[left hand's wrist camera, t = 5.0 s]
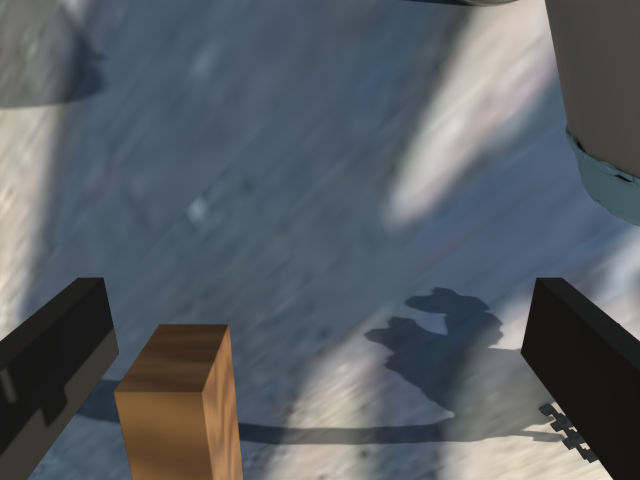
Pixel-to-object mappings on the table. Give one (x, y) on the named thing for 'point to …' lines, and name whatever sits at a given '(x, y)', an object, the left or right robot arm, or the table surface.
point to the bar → (181, 406)
